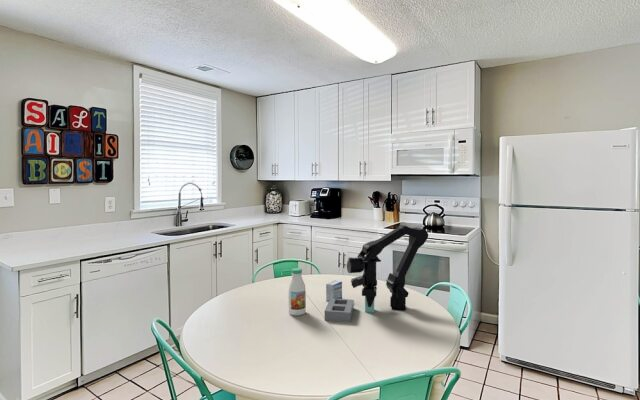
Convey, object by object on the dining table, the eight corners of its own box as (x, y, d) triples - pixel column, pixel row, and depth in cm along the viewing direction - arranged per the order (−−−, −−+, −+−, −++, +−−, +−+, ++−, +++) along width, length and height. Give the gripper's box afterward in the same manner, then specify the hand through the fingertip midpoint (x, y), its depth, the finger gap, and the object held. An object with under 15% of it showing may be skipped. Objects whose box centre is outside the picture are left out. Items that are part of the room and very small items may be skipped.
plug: (374, 309, 165) (374, 289, 165) (374, 312, 161) (374, 292, 161) (365, 308, 166) (365, 289, 165) (365, 312, 162) (365, 292, 161)
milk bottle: (285, 314, 160) (284, 270, 158) (294, 308, 167) (293, 266, 165) (300, 317, 156) (299, 272, 155) (308, 311, 163) (308, 268, 162)
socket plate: (353, 308, 167) (353, 299, 167) (350, 321, 151) (350, 312, 151) (330, 306, 169) (330, 298, 169) (324, 320, 153) (324, 311, 153)
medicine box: (333, 302, 174) (333, 285, 173) (325, 300, 177) (325, 283, 176) (342, 298, 180) (342, 281, 180) (335, 296, 183) (335, 279, 182)
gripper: (353, 265, 173) (353, 297, 174) (350, 276, 155) (350, 311, 156) (377, 266, 171) (377, 298, 172) (376, 277, 153) (376, 313, 154)
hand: (369, 305), depth 163 cm, fingers closed on plug, 4 cm apart
